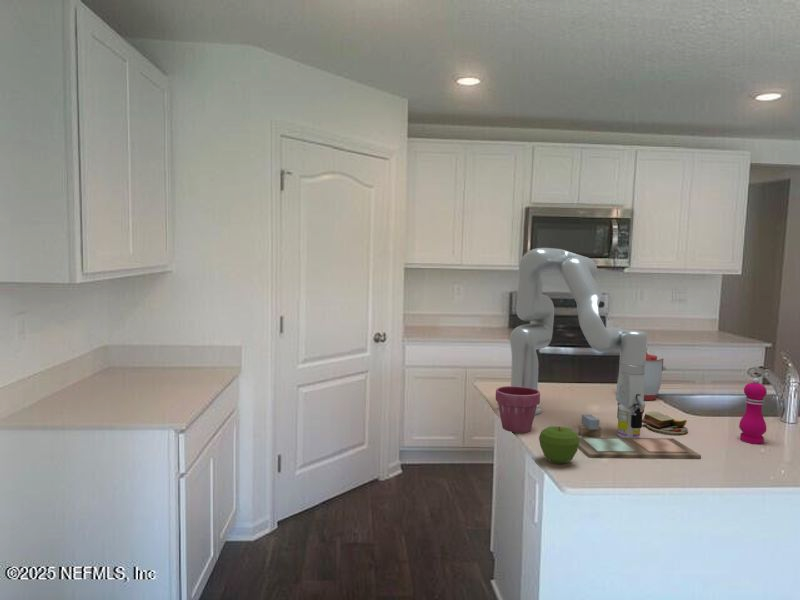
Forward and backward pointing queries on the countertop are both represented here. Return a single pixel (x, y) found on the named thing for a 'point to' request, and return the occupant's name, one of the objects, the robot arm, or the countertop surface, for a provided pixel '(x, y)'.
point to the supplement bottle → (626, 423)
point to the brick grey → (590, 422)
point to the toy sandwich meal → (664, 423)
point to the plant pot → (517, 407)
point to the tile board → (636, 448)
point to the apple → (558, 444)
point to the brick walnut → (589, 432)
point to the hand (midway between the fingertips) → (629, 423)
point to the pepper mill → (753, 413)
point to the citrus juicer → (652, 376)
